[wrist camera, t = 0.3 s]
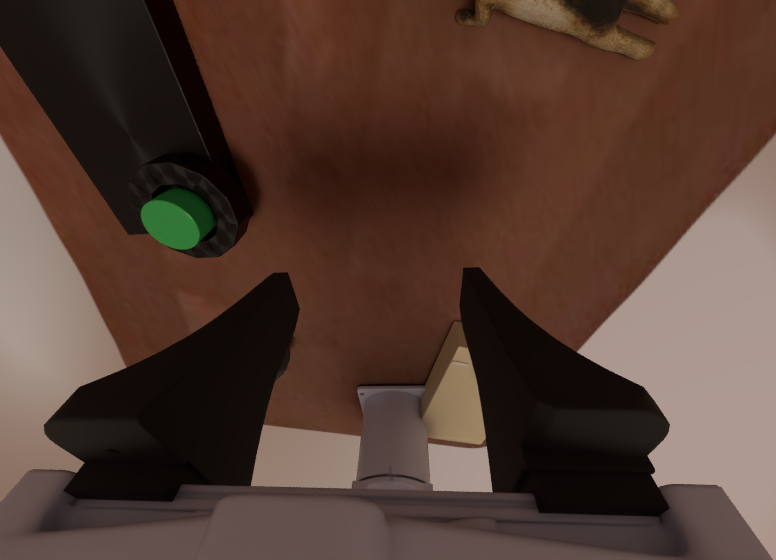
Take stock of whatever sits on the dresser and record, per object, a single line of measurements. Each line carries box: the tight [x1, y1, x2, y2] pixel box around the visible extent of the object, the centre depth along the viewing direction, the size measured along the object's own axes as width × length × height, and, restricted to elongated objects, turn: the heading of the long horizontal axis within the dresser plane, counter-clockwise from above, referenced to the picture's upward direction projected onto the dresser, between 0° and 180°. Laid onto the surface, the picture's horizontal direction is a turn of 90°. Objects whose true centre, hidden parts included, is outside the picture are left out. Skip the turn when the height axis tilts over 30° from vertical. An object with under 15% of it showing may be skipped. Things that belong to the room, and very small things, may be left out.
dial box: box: [421, 321, 486, 444], centre depth 31 cm, size 18×8×3 cm, turn 170°
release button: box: [141, 188, 214, 250], centre depth 17 cm, size 3×3×2 cm
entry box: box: [0, 0, 253, 258], centre depth 17 cm, size 13×9×4 cm
